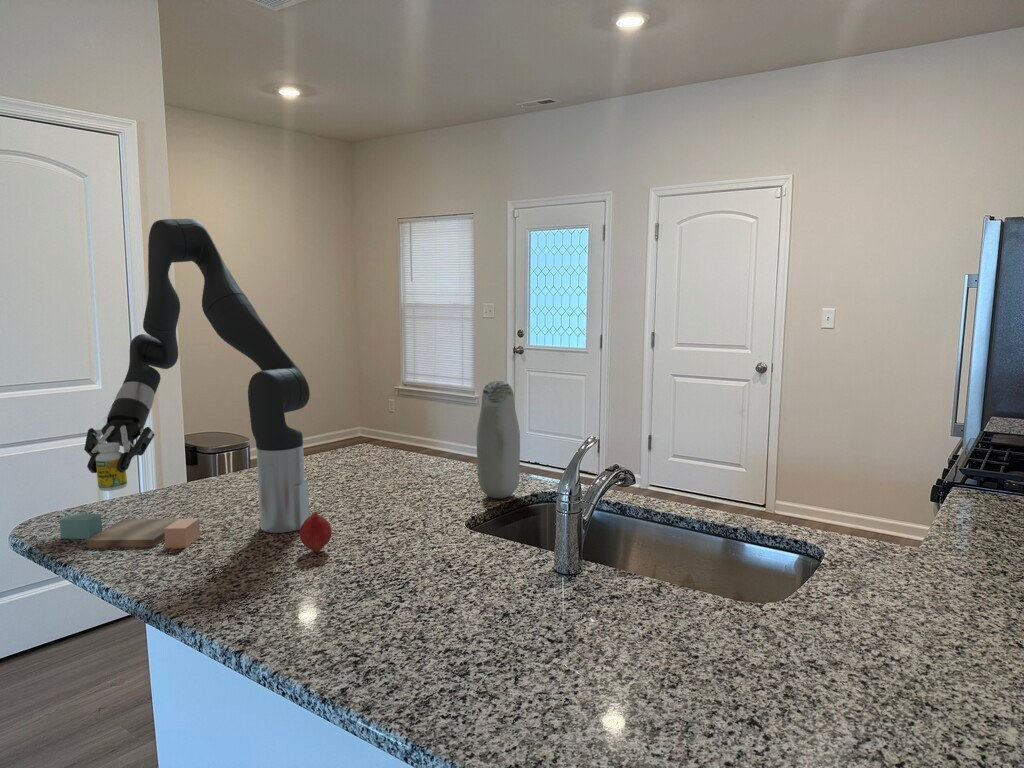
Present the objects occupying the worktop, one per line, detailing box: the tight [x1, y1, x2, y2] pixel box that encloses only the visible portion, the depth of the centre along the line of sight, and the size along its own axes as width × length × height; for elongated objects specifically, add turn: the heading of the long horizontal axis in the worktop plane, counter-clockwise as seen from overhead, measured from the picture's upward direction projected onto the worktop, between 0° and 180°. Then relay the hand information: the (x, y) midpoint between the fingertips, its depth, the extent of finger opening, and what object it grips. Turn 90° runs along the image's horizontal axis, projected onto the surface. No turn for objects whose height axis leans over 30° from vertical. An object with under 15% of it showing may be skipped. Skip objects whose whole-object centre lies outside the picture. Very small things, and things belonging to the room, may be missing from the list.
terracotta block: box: [164, 518, 201, 549], centre depth 135 cm, size 6×4×4 cm, turn 0°
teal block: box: [58, 513, 103, 540], centre depth 140 cm, size 6×4×4 cm, turn 86°
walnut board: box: [85, 517, 186, 549], centre depth 139 cm, size 13×13×2 cm
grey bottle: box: [476, 380, 521, 500], centre depth 163 cm, size 10×10×28 cm
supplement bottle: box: [96, 442, 128, 492], centre depth 147 cm, size 5×5×10 cm
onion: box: [299, 510, 332, 553], centre depth 129 cm, size 6×6×8 cm
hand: (106, 470), depth 145 cm, fingers closed on supplement bottle, 5 cm apart
